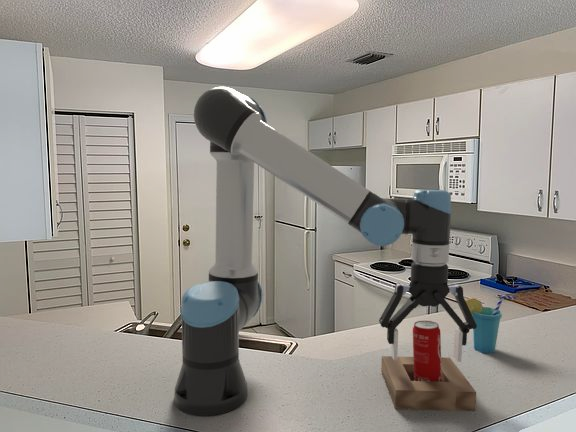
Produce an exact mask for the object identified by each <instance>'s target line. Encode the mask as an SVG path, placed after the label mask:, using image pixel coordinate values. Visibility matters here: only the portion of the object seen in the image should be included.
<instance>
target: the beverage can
mask: <svg viewBox="0 0 576 432" xmlns="http://www.w3.org/2000/svg"><path fill="white" fill-rule="evenodd" d="M441 344H442V341H441V329H440V327H439V324H438V322H436V321H432V320H417V321H415V322H414V324H413V327H412V348H413V352H412V355H413V356H412V357H413V358H414V381H433V382H442V375H441V357H442V349H441V348H442V345H441Z"/></svg>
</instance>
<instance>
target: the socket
mask: <svg viewBox="0 0 576 432" xmlns="http://www.w3.org/2000/svg"><path fill="white" fill-rule="evenodd" d="M380 368H381V372H382V373H381V372H380V373H381V375H383V376H382V378H383V380H385V381H384V383H386V384H385V386H386V388H387V391H389V392H388V394H389V396H390V400H391V402H392V404H393V407H394V409H395V410H424V411H425V410H426V411H428V410H429V411H454V412H455V411H458V412H459V411H462V412H463V411H464V412H467V411H468V412H476V409H477V408H476V403H477V391H476V390H475V388H474V387H473V386H472V384H471V383H470V382H469V381H468V379H467V378H466V376H465V375H464V374H463V372H462V371H461V370H460V369H459V367H458V366H457V365H456V364H455V362H454V361H453V360H452V358H451V357H442V356H441V375H442V382H433V381H414V358H413V356H397V360H393V358H392V356H391V355H387V356H386V355H385V356H384V355H382V356H381V367H380Z"/></svg>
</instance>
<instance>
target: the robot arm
mask: <svg viewBox="0 0 576 432" xmlns="http://www.w3.org/2000/svg"><path fill="white" fill-rule="evenodd" d="M193 119H194V120H193V121H194V123H195V127H196V129H197V130H198V132H199V133H200V135H201V136H202V137H204V139H206V140H207V141H209V155H210V156H211V157H213V159H214V160H215V161H216V182H215V183H216V186H215V187H216V188H215V189H216V190H215V195H216V197H215V199H216V200H215V262H214V265H212V266H211V267H210V268H209V269H208V281H205V282H202V283H197V284H194V285H193V286H191V287H189V288H188V289H187V290H185V292H184V293H183V295H182V298H181V306H180V317H181V344H182V345H181V348H182V349H181V351H182V353H181V354H182V364H181V368H180V370H179V374H178V377H177V381H176V382H175V386H174V403H175V406H176V407H177V408H179V410H180V411H182V412H184V413H186V414H189V415H195V416H205V417H206V416H216V415H217V416H218V415H221V414H225V413H228V412H231V411H233V410H235V409H238V408H239V407H240V406H241V405H243V404H244V402H245V401H246V400H247V398H248V383H247V380H246V376H245V373H244V370H243V367H242V365H241V362H240V359H239V358H240V356H239V354H240V353H239V351H240V350H239V347H240V343H239V342H240V339H239V336H240V334H239V333H240V331H242V329H243V328H245V326H246V325H247V324H248V323H249V322H250V321H251V320H252V319H253V318H254V317H255V316H256V315H257V313H258V312H259V310H260V307H261V305H262V302H263V289H262V285H261V283H260V282H259V270H258V268H257V267H256V266H254V264H253V237H254V236H253V235H254V233H253V231H254V230H253V229H254V228H253V225H254V190H255V189H254V188H255V187H254V182H255V164H256V165H258V166H259V167H260V168H261V169H263V170H265V171H267V172H268V173H270V174H271V175H273V176H274V177H275V178H277V179H279V180H280V181H282V182H283V183H285V184H286V185H288V186H290V187H291V188H293V189H294V190H295V191H297V192H299V193H301V194H302V195H303V196H305V197H307V198H308V199H309V200H311V201H313V202H314V203H315V204H317V205H319V206H320V207H321V208H323V209H324V210H326V211H328V212H330V213H331V214H332V215H334V216H336V217H337V218H339V219H340V220H342V221H343V222H344V223H346V224H348V225H349V226H351V228H353V229H355V230H356V231H357V232H359V233H361V235H362V236H363V237H364V238H365V240H366V241H368V243H370V244H372V245H374V246H378V247H386V246H390V245H393V244H394V243H395V242H397V240H398V239H400V238H401V236H402V234H403V235H412V241H411V243H412V244H411V260H412V261H413V262H412V263H411V266H410V283H409V284H408V285H407V284H401V283H400V282H396V283H395V285H394V291H393V292H394V293H393V294H392V296H391V298H390V299H389V301H388V303H387V305H386V307H385V309H384V310H383V312H382V313H381V316H380V317H379V320H378V322H379V324H380V326H381V327H382V328H386V329H387V330H386V331H387V332H386V340H387V342H388V344H389V345H391V350H390V356H392V358H393V360H397V357H398V350H399V349H398V346H399V330H398V329H397V327H398V326H399V325H401V323H402V322H403V321H404V319H406V318H407V317H408V315H410V313H411V312H413V310H414V309H416V308H417V307H418V306H421V307H428V306H430V307H438V306H439V305H440V306H441V307H442V308H443V310H445V311H446V313H447V314H448V316H449V317H450V318H451V319H452V320H453V322H454V323H455V324H456V325H457V326H458V327H454V338H453V357H454V359H455V360H456V362H460V363H461V362H462V353H463V346H466V345H467V340H468V333H470V330H473V329H476V328H477V325H476V323H475V321H474V318H473V316H472V314H471V312H470V310H469V308H468V306H467V303H466V301H465V300H466V299H465V297H464V288H463V287H462V286H461V285H460V284H458V283H454V284H453V285H449V284H448V282H449V279H448V278H449V265H448V264H447V263H449V260H450V259H449V257H450V237H451V222H452V220H451V219H452V196H451V194H450V192H449V191H447V190H444V189H417V190H415V191H414V192H413V196H412V198H386V197H385V198H383V197H380V196H378V195H377V194H376V193H373V192H372V191H370V190H369V189H368V188H366V187H365V186H364V185H361V184H360V183H358V182H357V181H355V180H354V179H352V178H351V177H350V176H348V175H346V174H344V173H343V172H341V171H340V170H338V169H337V168H336V167H333V166H332V165H331V164H329V163H328V162H326V161H324V160H323V159H321V158H320V157H318V156H316V155H315V154H313V153H312V152H310V151H309V150H307V149H306V148H305V147H303V146H301V145H299V144H298V143H297V142H295V141H293V140H292V139H291V138H289V137H287V136H286V135H285V134H283V133H281V132H280V131H278V130H277V129H275V128H273V127H272V126H270V125H269V124H268V122H267V116H266V113H265V111H264V109H263V108H262V106H261V105H260V104H259V103H258V102H257V101H256V100H255V99H253V98H252V97H250V96H248V95H245V94H242V93H240V92H238V90H237V91H236V90H235V89H233V88H230V87H227V86H218V87H217V86H216V87H213V88H210V89H208V90H207V91H206V90H205V92H203V93H202V94H201V95H200V96H199V97H198V99H197V101H196V104H195V106H194V109H193ZM407 292H409V293H410V296H409V298H407V300H406V302H404V304H403V305H402V306H401V307H400V308H399V309H398V311H397V312H396V313H395V311H396V309H397V308H398V305H399V304H400V302H401V300H402V298H403V296H404V295H406V294H407ZM448 294H451V295H452V296H454V298H455V300H456V302H457V304H458V307H459V310H460V311H461V313H462V315H463V317H464V320H465V322H463V320H462V319H461V318H460V316H459V315H458V314H457V313H456V311H455V310H454V309H453V308H452V307H451V305H450V304H449V302H447V301H446V297H448Z"/></svg>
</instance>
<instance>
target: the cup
mask: <svg viewBox="0 0 576 432" xmlns="http://www.w3.org/2000/svg"><path fill="white" fill-rule="evenodd" d="M504 299H508V300H514V301H515V300H516V296H513V295H507V294H503V295H501V296H500V297H499V299H498V301H497V304H496V306H495V308H492V307H487V306H486V307H485V306H483V304H482V301H481V300H479V299H477V298H475V297H470V298H468V299H465V301H466V303H467V306H468V308H469V310H470V312H471V314H472V316H473V318H474V321H475V323H476V325H477V328H476V329H472V333H473V335H472V336H473V337H472V338H473V339H472V340H473V349H474V350H475V351H476V352H479V353H482V354H483V353H484V354H493V353H495V352H496V346H497V339H498V334H499V328H500V321H501V319H502V316H503V314H502V312H501V310H500V307H501V305H502V303H503V300H504Z"/></svg>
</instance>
